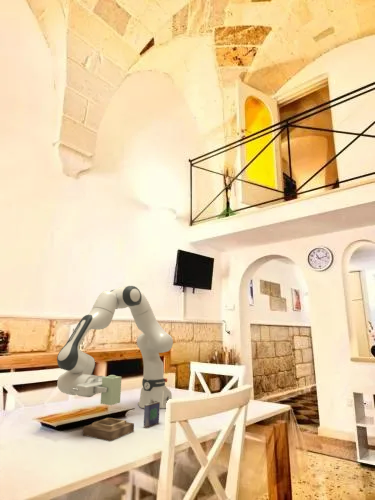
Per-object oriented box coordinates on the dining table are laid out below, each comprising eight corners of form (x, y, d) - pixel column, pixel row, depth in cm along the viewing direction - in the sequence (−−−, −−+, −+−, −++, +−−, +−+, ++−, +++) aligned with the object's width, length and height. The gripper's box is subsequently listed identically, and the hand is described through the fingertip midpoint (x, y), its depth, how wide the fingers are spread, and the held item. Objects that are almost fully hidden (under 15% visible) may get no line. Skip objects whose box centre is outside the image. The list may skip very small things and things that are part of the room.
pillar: (109, 401, 137) (111, 374, 139) (120, 402, 134) (121, 375, 137) (100, 403, 132) (102, 375, 134) (110, 405, 129) (112, 376, 132)
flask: (146, 428, 137) (147, 400, 140) (141, 427, 139) (142, 399, 142) (160, 423, 145) (161, 397, 147) (155, 422, 146) (156, 396, 149)
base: (107, 426, 140) (108, 415, 141) (133, 431, 133) (134, 420, 134) (82, 435, 128) (83, 423, 129) (110, 441, 121) (111, 428, 122)
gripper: (69, 381, 132) (95, 383, 126) (105, 375, 150) (128, 377, 143) (68, 397, 131) (94, 401, 124) (104, 390, 148) (128, 393, 142)
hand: (113, 388), depth 134 cm, fingers closed on pillar, 5 cm apart
